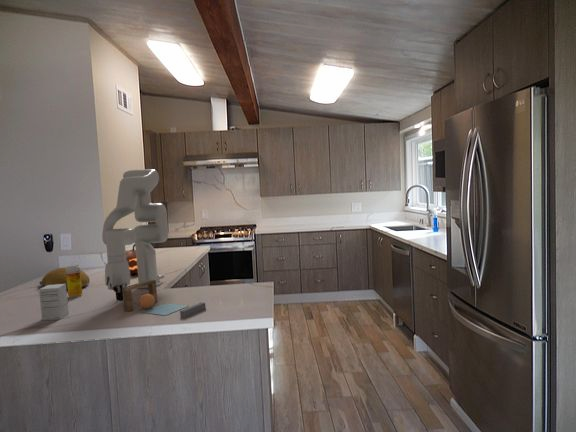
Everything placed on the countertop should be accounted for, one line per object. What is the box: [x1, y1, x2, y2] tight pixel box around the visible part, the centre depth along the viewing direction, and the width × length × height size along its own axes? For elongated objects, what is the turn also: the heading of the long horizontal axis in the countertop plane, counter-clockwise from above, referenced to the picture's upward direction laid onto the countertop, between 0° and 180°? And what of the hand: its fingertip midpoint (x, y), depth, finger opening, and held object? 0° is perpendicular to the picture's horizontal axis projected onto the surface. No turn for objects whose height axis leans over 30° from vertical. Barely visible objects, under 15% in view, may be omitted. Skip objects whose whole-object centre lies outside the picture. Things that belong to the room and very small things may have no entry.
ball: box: [139, 293, 155, 310], centre depth 169 cm, size 6×6×6 cm
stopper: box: [179, 302, 207, 319], centre depth 158 cm, size 12×2×2 cm, turn 151°
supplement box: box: [38, 284, 69, 321], centre depth 163 cm, size 7×7×13 cm
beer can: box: [65, 264, 83, 299], centre depth 197 cm, size 6×6×15 cm
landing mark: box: [141, 303, 190, 317], centre depth 166 cm, size 13×13×1 cm
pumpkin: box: [126, 243, 138, 276], centre depth 250 cm, size 25×25×19 cm
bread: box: [41, 266, 91, 290], centre depth 224 cm, size 18×35×10 cm, turn 53°
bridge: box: [122, 280, 158, 313], centre depth 172 cm, size 3×15×10 cm, turn 151°
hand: (120, 300), depth 179 cm, fingers closed
